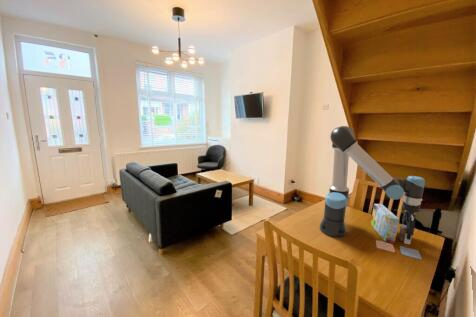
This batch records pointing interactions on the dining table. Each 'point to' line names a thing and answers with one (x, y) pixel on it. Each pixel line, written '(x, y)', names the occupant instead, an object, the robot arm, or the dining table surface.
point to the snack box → (385, 223)
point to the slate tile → (410, 252)
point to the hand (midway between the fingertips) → (405, 239)
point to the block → (403, 232)
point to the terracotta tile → (385, 246)
